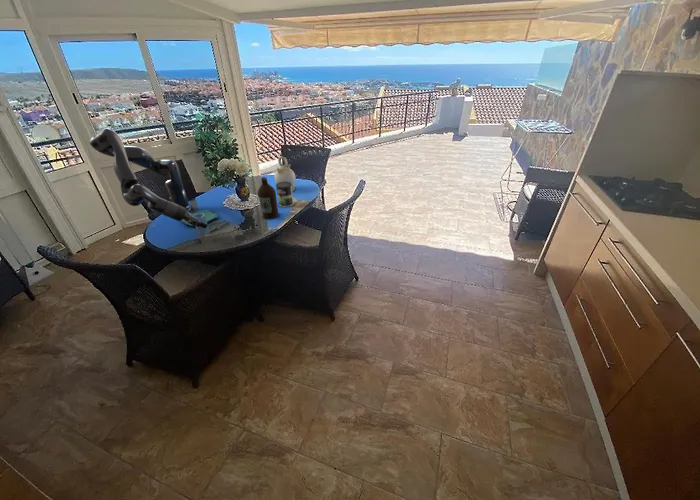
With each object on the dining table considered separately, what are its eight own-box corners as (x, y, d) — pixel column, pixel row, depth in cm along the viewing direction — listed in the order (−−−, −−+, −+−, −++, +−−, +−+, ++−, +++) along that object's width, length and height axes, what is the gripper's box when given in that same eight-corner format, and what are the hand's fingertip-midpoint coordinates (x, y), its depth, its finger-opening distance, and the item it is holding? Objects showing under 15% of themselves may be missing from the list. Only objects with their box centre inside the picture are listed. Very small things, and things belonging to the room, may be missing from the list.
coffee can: (289, 208, 195) (286, 188, 188) (276, 205, 199) (272, 186, 191) (296, 202, 203) (294, 182, 196) (284, 200, 207) (281, 180, 199)
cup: (195, 234, 158) (189, 218, 153) (202, 229, 163) (196, 213, 157) (205, 235, 157) (199, 218, 151) (211, 230, 162) (206, 213, 156)
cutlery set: (206, 210, 195) (205, 207, 193) (233, 222, 180) (232, 219, 178) (176, 222, 182) (175, 218, 180) (203, 236, 166) (201, 232, 165)
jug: (289, 184, 232) (285, 152, 219) (300, 189, 223) (297, 156, 209) (272, 189, 224) (267, 156, 210) (283, 195, 214) (278, 160, 200)
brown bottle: (267, 211, 191) (259, 174, 178) (282, 212, 189) (275, 175, 176) (259, 218, 183) (251, 180, 169) (275, 220, 181) (267, 181, 167)
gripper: (166, 212, 151) (197, 225, 163) (172, 222, 141) (205, 235, 154) (173, 200, 150) (204, 214, 163) (180, 209, 141) (212, 223, 154)
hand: (204, 224), depth 158 cm, fingers closed on cup, 6 cm apart
